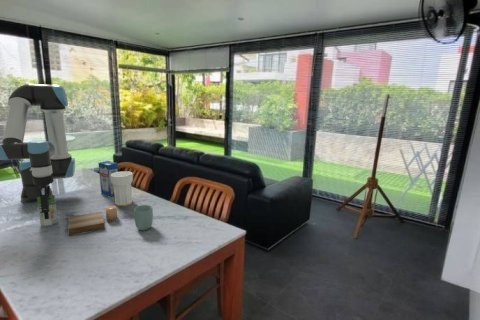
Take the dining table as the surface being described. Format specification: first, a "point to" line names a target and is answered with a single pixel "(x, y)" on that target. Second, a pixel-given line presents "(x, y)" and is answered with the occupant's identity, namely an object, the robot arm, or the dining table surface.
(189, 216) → the dining table surface
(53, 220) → the ink box
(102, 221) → the podium
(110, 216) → the wooden peg
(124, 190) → the cup
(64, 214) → the dining table surface
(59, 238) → the dining table surface
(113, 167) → the milk carton
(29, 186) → the robot arm
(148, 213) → the cup
